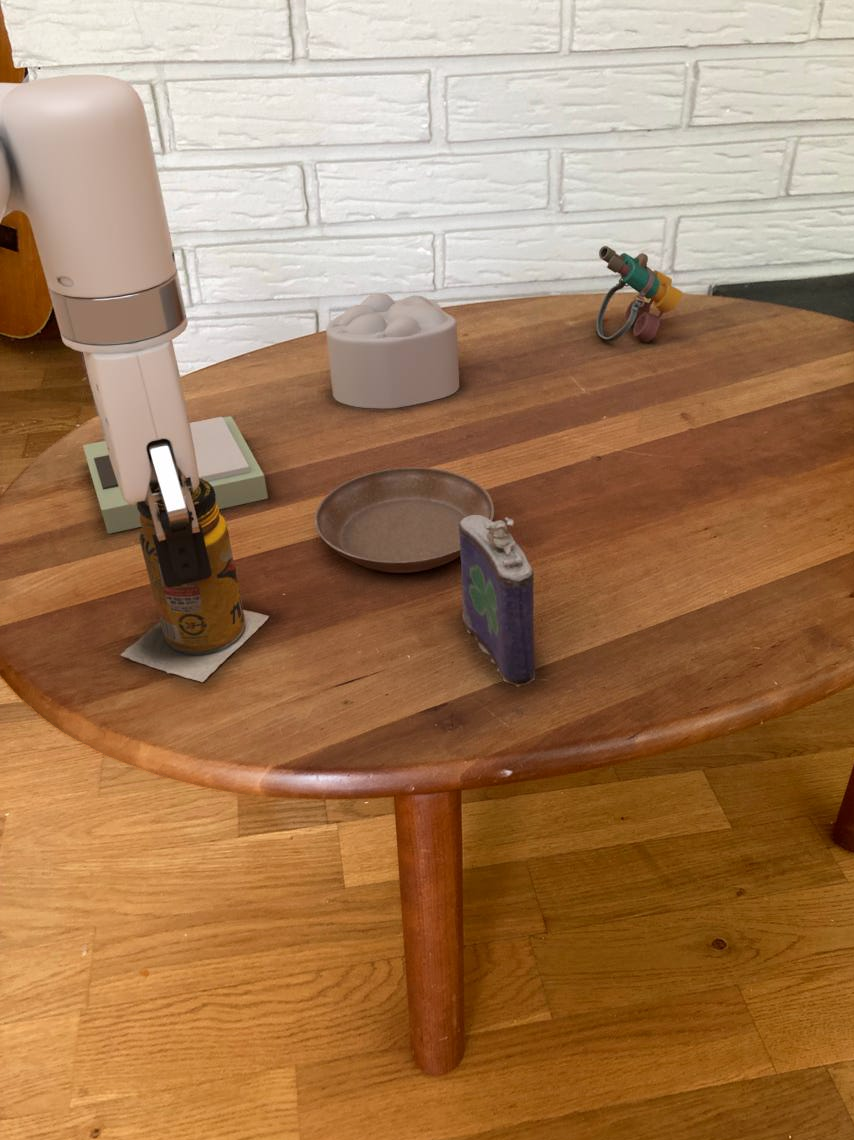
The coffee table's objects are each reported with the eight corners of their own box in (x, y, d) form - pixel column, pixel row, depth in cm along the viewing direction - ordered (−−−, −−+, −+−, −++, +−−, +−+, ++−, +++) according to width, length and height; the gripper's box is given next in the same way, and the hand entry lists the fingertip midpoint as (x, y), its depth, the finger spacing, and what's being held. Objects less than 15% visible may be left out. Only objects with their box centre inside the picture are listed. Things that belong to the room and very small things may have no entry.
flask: (457, 619, 81) (452, 494, 75) (492, 609, 82) (490, 485, 75) (508, 691, 74) (508, 561, 68) (546, 679, 75) (549, 550, 69)
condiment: (270, 618, 82) (245, 479, 74) (203, 684, 76) (169, 539, 68) (191, 596, 84) (160, 459, 77) (120, 658, 78) (79, 517, 71)
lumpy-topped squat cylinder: (468, 393, 113) (465, 312, 107) (350, 418, 109) (341, 335, 103) (431, 357, 120) (427, 280, 115) (319, 379, 116) (310, 300, 111)
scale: (108, 534, 92) (99, 503, 90) (89, 467, 101) (81, 439, 100) (268, 498, 96) (263, 468, 94) (235, 438, 106) (230, 410, 104)
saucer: (409, 611, 82) (407, 581, 80) (281, 545, 90) (277, 517, 88) (530, 530, 91) (530, 503, 89) (404, 477, 99) (402, 450, 97)
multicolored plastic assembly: (639, 368, 122) (693, 292, 117) (574, 331, 118) (627, 250, 113) (620, 337, 129) (670, 263, 124) (558, 300, 125) (607, 223, 121)
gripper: (42, 273, 70) (108, 511, 81) (72, 371, 58) (146, 637, 69) (157, 255, 73) (206, 489, 84) (211, 346, 60) (260, 607, 71)
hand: (178, 554), depth 76 cm, fingers closed on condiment, 6 cm apart
